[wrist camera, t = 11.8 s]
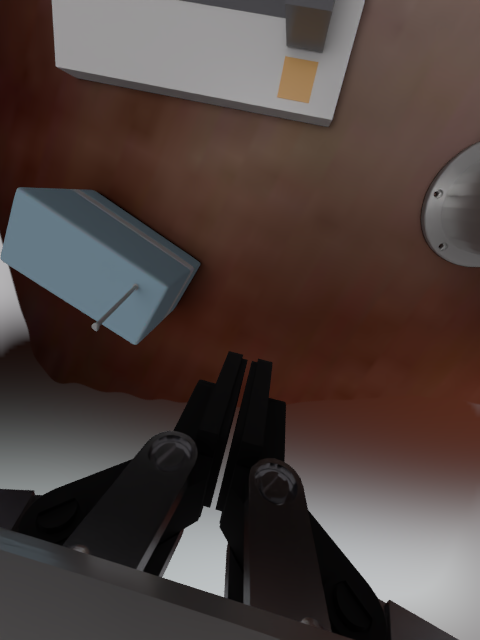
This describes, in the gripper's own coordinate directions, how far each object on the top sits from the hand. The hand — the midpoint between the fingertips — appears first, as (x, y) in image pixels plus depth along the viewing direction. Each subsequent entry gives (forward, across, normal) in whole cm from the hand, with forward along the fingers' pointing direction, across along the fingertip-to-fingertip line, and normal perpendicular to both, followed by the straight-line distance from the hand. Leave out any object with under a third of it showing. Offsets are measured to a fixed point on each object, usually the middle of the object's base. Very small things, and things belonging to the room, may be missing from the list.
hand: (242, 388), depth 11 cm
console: (+27, +12, -21) cm, 36 cm away
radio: (+27, +18, +4) cm, 33 cm away
